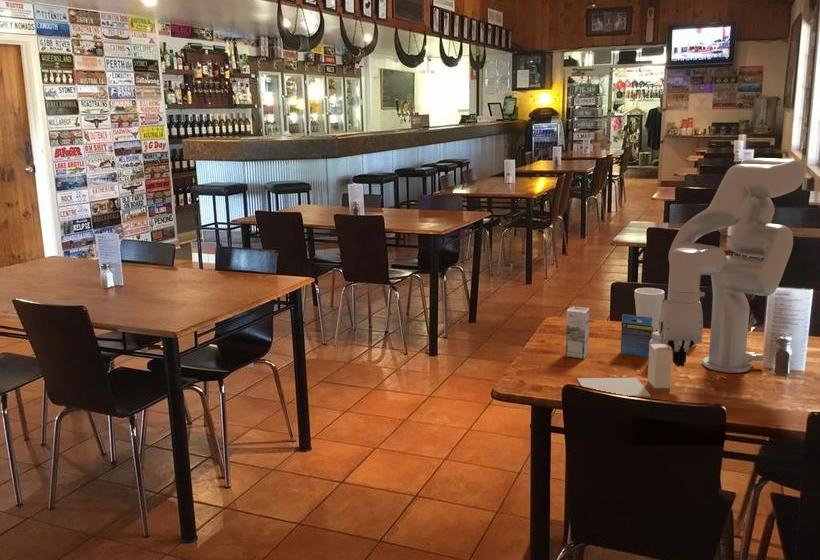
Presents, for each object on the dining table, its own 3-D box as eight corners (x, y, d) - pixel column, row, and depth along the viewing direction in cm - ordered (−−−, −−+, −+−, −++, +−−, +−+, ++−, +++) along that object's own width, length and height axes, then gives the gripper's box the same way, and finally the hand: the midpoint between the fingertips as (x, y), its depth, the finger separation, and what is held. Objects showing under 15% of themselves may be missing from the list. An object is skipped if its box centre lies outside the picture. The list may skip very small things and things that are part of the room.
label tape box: (652, 353, 223) (654, 314, 220) (650, 357, 219) (652, 317, 217) (622, 350, 227) (624, 311, 224) (619, 354, 223) (621, 314, 220)
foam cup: (643, 323, 254) (645, 286, 252) (667, 329, 248) (670, 291, 245) (627, 328, 249) (629, 291, 246) (651, 334, 242) (653, 295, 239)
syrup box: (588, 353, 224) (589, 307, 221) (584, 359, 219) (585, 312, 215) (569, 351, 226) (570, 305, 223) (564, 357, 221) (566, 310, 218)
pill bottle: (643, 364, 214) (645, 331, 212) (659, 361, 216) (661, 329, 213) (656, 370, 209) (657, 336, 207) (671, 367, 211) (673, 334, 208)
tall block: (662, 383, 199) (664, 343, 196) (669, 391, 193) (672, 351, 190) (647, 383, 199) (649, 344, 196) (654, 391, 193) (656, 351, 190)
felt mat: (636, 378, 202) (636, 377, 202) (650, 396, 189) (650, 395, 189) (577, 379, 202) (577, 378, 202) (587, 397, 190) (587, 395, 190)
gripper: (707, 292, 194) (702, 360, 198) (649, 293, 194) (645, 360, 198) (718, 299, 186) (713, 369, 190) (658, 300, 187) (654, 369, 190)
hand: (678, 364), depth 194 cm, fingers closed
